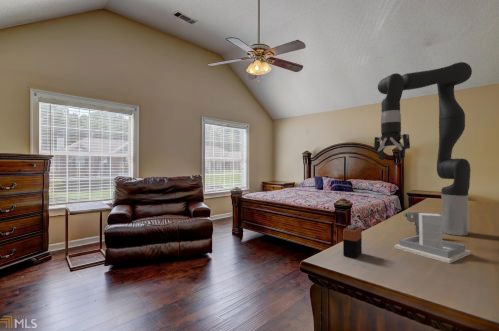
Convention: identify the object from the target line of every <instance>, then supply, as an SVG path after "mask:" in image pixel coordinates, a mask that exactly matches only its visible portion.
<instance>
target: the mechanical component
mask: <svg viewBox="0 0 499 331" xmlns="http://www.w3.org/2000/svg"><path fill="white" fill-rule="evenodd" d="M419 213H420V212H419V211H418V212H413V211H405V212H403V216H404V217H405V220H406V221H409V222H410V223H414V226H415V235H419ZM427 213H428V214H431V213H430V212H427Z"/></svg>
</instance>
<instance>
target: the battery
mask: <svg viewBox="0 0 499 331" xmlns="http://www.w3.org/2000/svg"><path fill="white" fill-rule="evenodd" d="M362 230H363V229H362V227H360V226H357V224H354V223H353V224H351V225H347V226H346V227H345V228H344V229H343V231H342V237H343V238H342V240H343V241H342V244H343V245H342V246H343V247H342V248H343V250H342V251H343V252H342V253H343V254H342V256H344V257H349V258H353V259H357V258H358V257H359V256H360V255H361V254H362V252H363V251H362V250H363V249H362V245H363V244H362V242H363V241H362Z"/></svg>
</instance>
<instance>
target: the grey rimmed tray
mask: <svg viewBox="0 0 499 331" xmlns="http://www.w3.org/2000/svg"><path fill="white" fill-rule="evenodd" d="M442 241H443V250H442V249H438V248H434V247H429V246H425V245H421V244H419V235H416V234H415V235H412V236H409V237H404V238H401V239H399V243H398V244H397V243H396V244H394V247H393V249H397V250H400V251H404V252H407V253H411V254H415V255H418V256H422V257H425V258H428V259H429V258H430V259H433V260H436V261H439V262H443V263H447V264H451V263H454V262H455V261H458V260H461V259H462V258H465V257H467V256H469V255H471V253H472V252H471V250H467V249H466V245H465V244H461V243H458V242H453V241H449V240H443V239H442Z"/></svg>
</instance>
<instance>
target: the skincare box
mask: <svg viewBox="0 0 499 331" xmlns="http://www.w3.org/2000/svg"><path fill="white" fill-rule="evenodd" d="M428 213H429V212H427V213H424V212H419V244H421V245H425V246H429V247H434V248H438V249H442V250H443V241H442V240H443V232H442V214H439V213H430V214H428Z"/></svg>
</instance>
